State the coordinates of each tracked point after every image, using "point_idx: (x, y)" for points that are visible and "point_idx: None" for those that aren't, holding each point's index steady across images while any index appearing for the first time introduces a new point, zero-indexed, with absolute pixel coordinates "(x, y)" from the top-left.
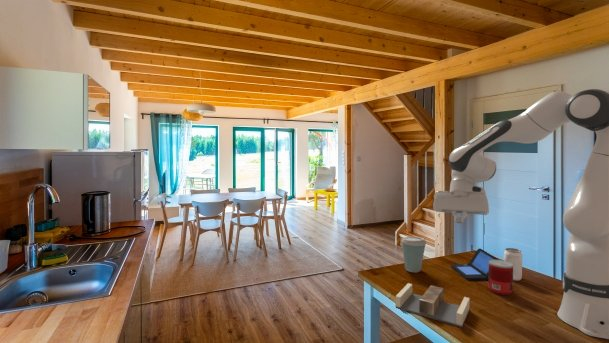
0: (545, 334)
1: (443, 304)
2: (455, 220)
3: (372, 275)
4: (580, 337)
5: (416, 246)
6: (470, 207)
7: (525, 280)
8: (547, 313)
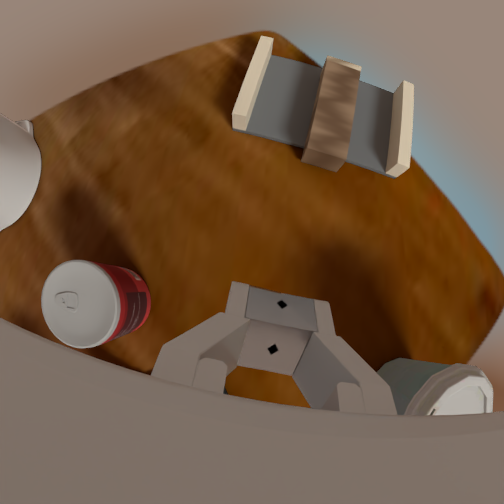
0: (99, 90)
1: (300, 128)
2: (318, 301)
3: (489, 279)
4: (46, 110)
5: (440, 372)
6: (32, 392)
7: None
8: (52, 188)
